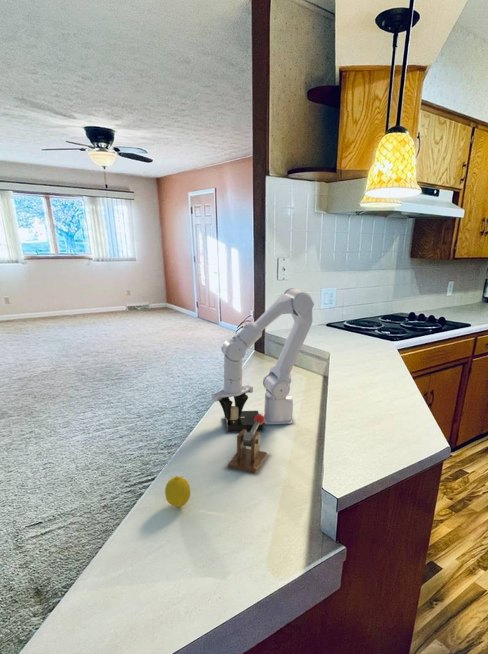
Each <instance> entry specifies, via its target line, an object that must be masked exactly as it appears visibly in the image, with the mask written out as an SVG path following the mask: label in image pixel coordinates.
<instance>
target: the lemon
mask: <svg viewBox="0 0 488 654" xmlns="http://www.w3.org/2000/svg"><path fill="white" fill-rule="evenodd" d="M164 495H165V500H166V502H167V503H168V504H169V505H170V506H172V507H176V508H180V507H182V506H184V505H186V504H187V503H188V501H189V499H190V497H191V487H190V484H189V481H188V480H187V479H186V478H184V477H183V476H178V475H176V476H174V477H172V478H170V479H169V480H168V481H167V482H166V484H165V488H164Z"/></svg>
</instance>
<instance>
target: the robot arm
mask: <svg viewBox="0 0 488 654" xmlns="http://www.w3.org/2000/svg"><path fill="white" fill-rule="evenodd" d="M314 305H315V303H314V300H313V299H312V297H311V295H310V294H309V293H308V292H306V291H301V290H298V289H296V288H294V287H290V288H287V289H285V290H284V292H283V293H281V294H280V295H278V297H277V299H276V300H275V301H274V302H273V303H272V304H271V305H270V306H269V307H268V308H267V309H266V310H265V311H264V312H263V313H262V314H261V315H260V316H259V317H258V318H257V319H256V320H255V321H249V322H247V323H246V322H245V323H244V324H242V328H241V329H240V330H238V332H237V333H236V334H232V336H231V338H228V339H226V340H225V341H224V342H223V344H222V346H221V352H222V353H223V355H224V356H223V389H221V390H219V391H217V392H215V393H211V400H212V401H213V402H215V403H217V402H219V404H220V406H221V407H222V411H223V415H224V419H226V418H227V419H230V417H231V406H233V401H234V406H236V407H238V416H241V412H242V411H243V409H244V407H245V404H246V403H247V401H248V399H249V395H247V394H248V393H250V394H251V393H253V392H254V387H253V386H252V385H249V384H248V385H243V359H244V357H246V356H245V355H246V352H247V351H248V349H250V348H251V347H252V346H253V345H254V344H255V343H256V342H257V341H258V340H260V338H262V337H263V330H265V329H266V328H267V327H268V326H270V325H271V324H272V323H274V322H275V321H276V320H277V319H278V318H279V317H280V316H282V315H289V314H291V317H292V319H293V324H292V326H291V329H290V331H289V333H288V336H287V337H286V341H285V343H284V346H282V347H283V348H282V350H281V351H280V354H279V357H278V359H277V360H276V363H275V365H274V366H272V367H271V368H270V369H269V371H268V373H267V374H266V375H265V376H264V377H263V379H262V380H263V381H262V385H263V387H264V389H265V392H264V412H263V413H261V415H263V416H264V422H263V424H264V425H288V424H290V425H291V424H293V410H294V400H293V396H292V395H291V394H290V390H291V383H292V375H291V374H292V373H291V372H292V369H293V367H294V365H295V363H296V361H297V358H298V357H299V354H300V351H301V349H302V347H303V345H304V342H305V340H306V339H307V335H308V334H309V331H310V329H311V326H312V324H313V308H314ZM232 397H233V401H232V400H231V399H230V398H232Z"/></svg>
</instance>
